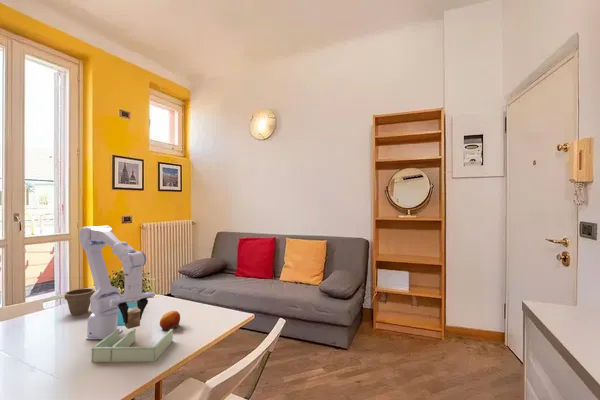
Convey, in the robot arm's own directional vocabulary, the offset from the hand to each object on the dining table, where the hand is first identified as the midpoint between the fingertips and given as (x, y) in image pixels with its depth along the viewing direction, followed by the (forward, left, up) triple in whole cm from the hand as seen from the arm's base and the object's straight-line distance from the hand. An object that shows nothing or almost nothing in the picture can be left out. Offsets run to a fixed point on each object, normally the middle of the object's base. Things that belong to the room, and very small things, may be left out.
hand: (132, 320), depth 109 cm
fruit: (+9, +14, -9) cm, 19 cm away
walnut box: (0, 0, -2) cm, 2 cm away
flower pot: (-40, +31, -9) cm, 52 cm away
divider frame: (+4, -5, -8) cm, 11 cm away
